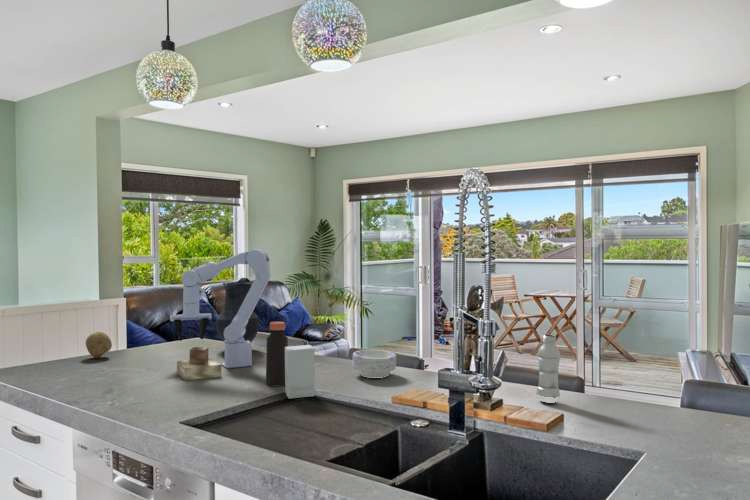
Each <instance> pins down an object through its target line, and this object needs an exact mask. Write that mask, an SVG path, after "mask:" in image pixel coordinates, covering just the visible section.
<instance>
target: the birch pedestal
mask: <svg viewBox="0 0 750 500" xmlns="http://www.w3.org/2000/svg"><path fill="white" fill-rule="evenodd" d="M176 374H177V375H179V376H180V377H181V378H182V379H183V381H191V380H198V379H211V378H217V377H222V364H221V362H218V361H217V360H216V359H214V358H212V357H208V362H207V363H206V364H205V365H189V359H187V360H186V359H185V360H177V361H176Z"/></svg>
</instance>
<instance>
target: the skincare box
mask: <svg viewBox="0 0 750 500" xmlns="http://www.w3.org/2000/svg"><path fill="white" fill-rule="evenodd" d="M315 353H316V352H315V348H314V347H313V346H312V344H302V345H289V346H288V347H285V385H284V386H285V387H284V393H286V394H285V395H286V397H287V398H288V399H289V400H290V399H298V398H306V397H307V398H310V397H315V396H316V394H315V393H316V390H315V389H316V386H315V377H316V375H315V359H316V357H315V355H316V354H315Z"/></svg>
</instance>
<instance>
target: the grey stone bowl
mask: <svg viewBox="0 0 750 500" xmlns="http://www.w3.org/2000/svg"><path fill="white" fill-rule="evenodd" d="M396 365H397V354H396V353H394V352H391V351H388V350H383V349H361V350H356V351H354V352H353V353H352V368H353V369H354V370H357V373H358V375H359V374H360V375H362V376H367V377H384V376H387V375H388V376H389V375H390V374H391V371H394V370H396V369H397V368H396V367H397V366H396ZM360 375H359V376H360ZM362 376H361V377H362ZM388 376H387V377H388Z"/></svg>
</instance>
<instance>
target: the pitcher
mask: <svg viewBox="0 0 750 500" xmlns="http://www.w3.org/2000/svg"><path fill="white" fill-rule="evenodd" d="M222 285H223V286H224V290H225V298H224V299H225V300H224V303H223V304H224V305H223V308H222V310H221V311H220V314H219V315H218V316H217V317H216V319H215V329H216V333H217V335H218V337H219V339H221V340H222V342H223V343H225V340H226V339H225V338H224V330H225V328H226V327H227V326H229V325H230V324H231V322H232V320H233V319H234V318H235V316H236V315H237V313H238V311H239V309H240V307H241V305H242V303H243V301H244V299H245V297H246V295H247V294H248V292H249V290H250V288H251V286H252V283H251V280H250V279H249V278H248V277H241V278H239V279H238V281H234V282H222ZM259 323H260V321H259V317H258V315H257V314H256V312H254V310H253V312H252V314H251V316H250V318H249V320H248V323H247V325H246V332H245V334H244V336H243V337H244V339H245V341H250V343H251V344H252V342H253V341H254V340H255V338H256V337H257V334H258V332H259V328H260V327H259Z"/></svg>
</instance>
